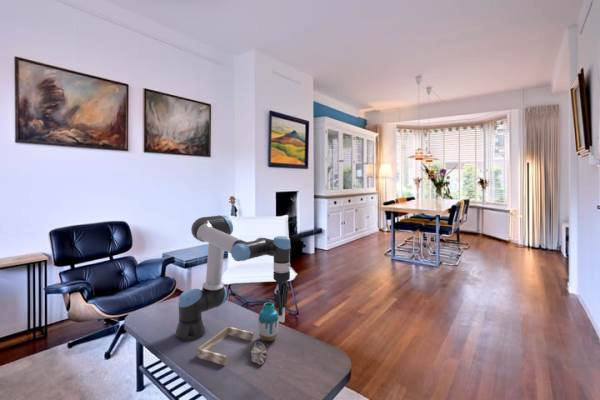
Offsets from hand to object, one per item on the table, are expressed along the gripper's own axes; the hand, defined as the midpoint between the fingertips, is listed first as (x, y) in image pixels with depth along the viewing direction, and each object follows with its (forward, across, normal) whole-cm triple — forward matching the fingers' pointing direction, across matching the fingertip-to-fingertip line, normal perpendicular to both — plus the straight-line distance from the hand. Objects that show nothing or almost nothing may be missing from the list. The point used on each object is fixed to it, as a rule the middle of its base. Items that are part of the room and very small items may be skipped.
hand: (281, 321), depth 138 cm
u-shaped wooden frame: (+20, 0, +30) cm, 36 cm away
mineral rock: (+20, 0, +12) cm, 23 cm away
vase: (+20, +16, +15) cm, 30 cm away
